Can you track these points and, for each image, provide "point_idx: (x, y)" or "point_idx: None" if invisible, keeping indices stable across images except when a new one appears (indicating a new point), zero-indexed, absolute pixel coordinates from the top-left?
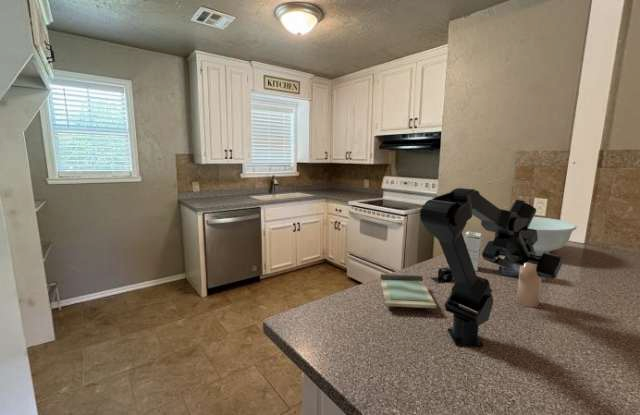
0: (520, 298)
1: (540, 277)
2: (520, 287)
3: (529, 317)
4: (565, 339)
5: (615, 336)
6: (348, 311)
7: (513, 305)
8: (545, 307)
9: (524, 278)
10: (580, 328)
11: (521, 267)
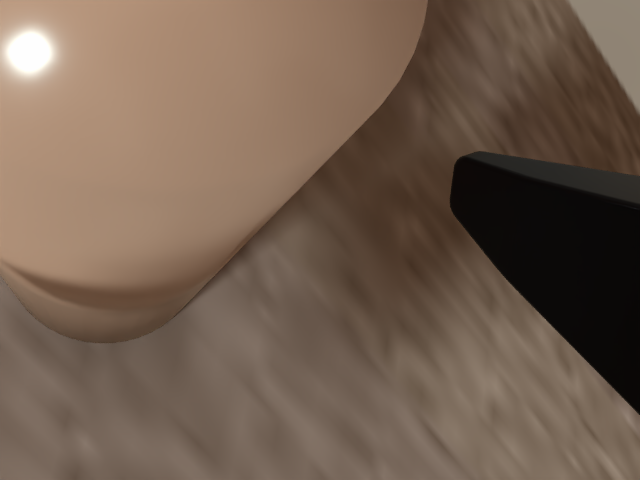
0: (108, 336)
1: (584, 354)
2: (93, 322)
3: (342, 471)
4: (604, 461)
5: (589, 129)
6: None
7: (116, 439)
8: None
9: (153, 293)
10: None
11: (46, 246)
